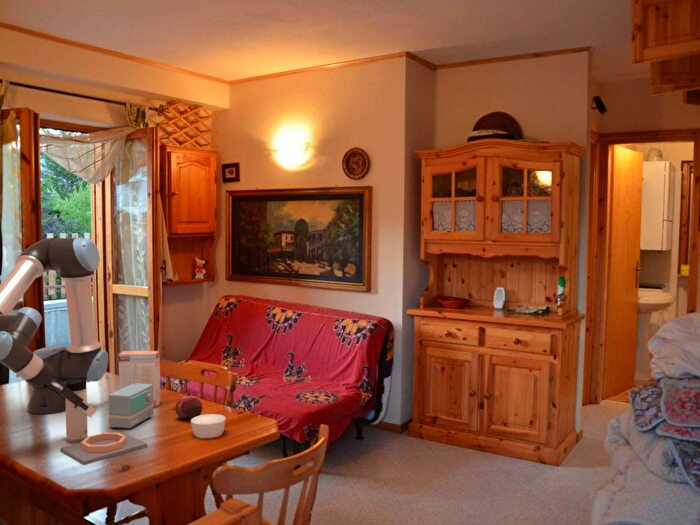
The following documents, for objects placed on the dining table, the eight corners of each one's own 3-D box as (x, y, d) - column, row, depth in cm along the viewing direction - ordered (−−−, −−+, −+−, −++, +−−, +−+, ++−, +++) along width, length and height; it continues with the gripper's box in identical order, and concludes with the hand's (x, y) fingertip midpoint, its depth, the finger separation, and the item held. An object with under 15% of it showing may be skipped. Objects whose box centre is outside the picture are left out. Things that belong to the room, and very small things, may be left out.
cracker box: (161, 403, 240) (160, 350, 239) (155, 408, 234) (155, 353, 233) (125, 403, 240) (124, 349, 239) (119, 407, 234) (118, 353, 233)
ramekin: (185, 433, 206) (185, 418, 206) (215, 426, 214) (215, 411, 213) (200, 442, 198) (200, 426, 198) (231, 435, 205) (231, 419, 205)
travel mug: (92, 439, 200) (91, 378, 199) (71, 444, 195) (70, 382, 194) (83, 434, 204) (82, 375, 203) (63, 440, 199) (61, 378, 198)
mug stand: (60, 451, 190) (60, 441, 189) (122, 434, 204) (121, 425, 204) (83, 464, 179) (83, 454, 179) (147, 446, 194) (147, 437, 193)
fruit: (199, 422, 218) (199, 394, 217) (172, 422, 218) (172, 394, 217) (205, 414, 227) (205, 387, 226) (179, 414, 227) (179, 387, 226)
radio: (133, 431, 208) (132, 372, 207) (109, 429, 210) (107, 371, 209) (156, 416, 224) (156, 362, 223) (134, 415, 226) (133, 360, 225)
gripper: (13, 375, 193) (67, 415, 206) (38, 386, 180) (94, 428, 193) (30, 356, 197) (82, 396, 210) (56, 365, 184) (110, 407, 197)
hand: (88, 411), depth 202 cm, fingers closed on travel mug, 6 cm apart
